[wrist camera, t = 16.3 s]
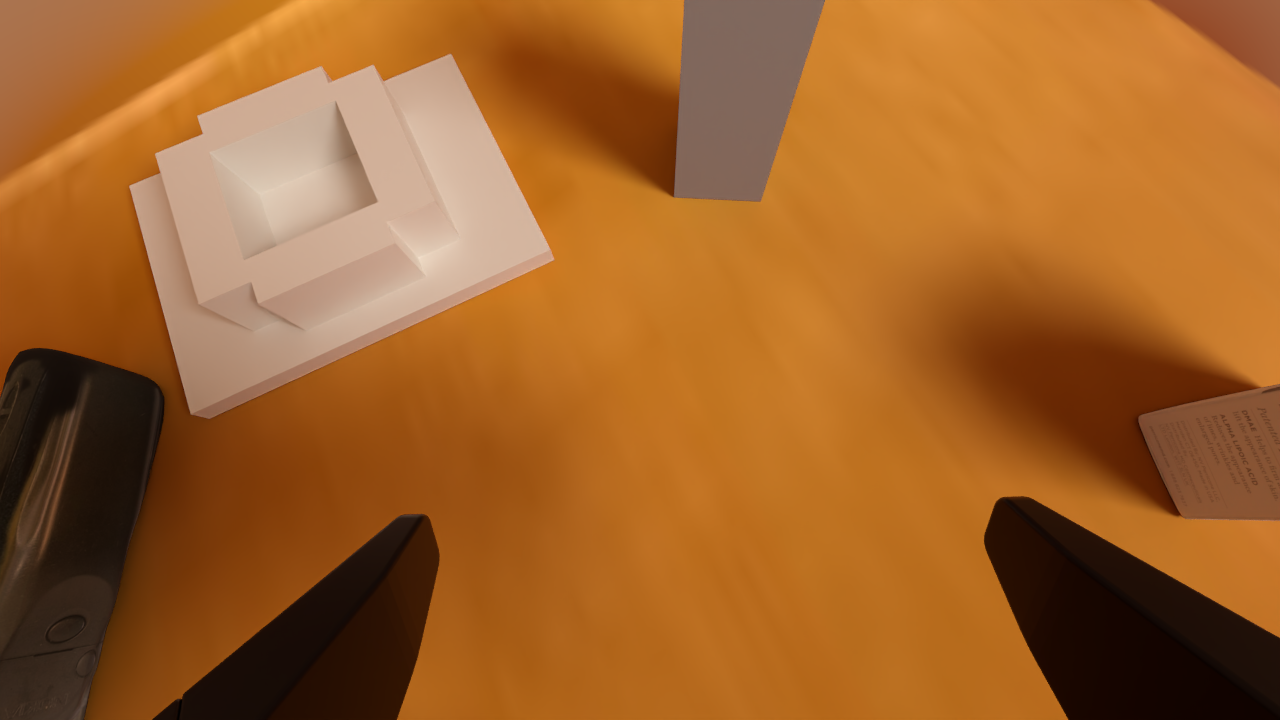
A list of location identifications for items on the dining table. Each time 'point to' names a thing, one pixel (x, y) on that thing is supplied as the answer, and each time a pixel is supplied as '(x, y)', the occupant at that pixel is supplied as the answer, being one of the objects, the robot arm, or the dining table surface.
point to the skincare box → (1220, 455)
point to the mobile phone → (66, 520)
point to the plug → (737, 91)
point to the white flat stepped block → (326, 225)
